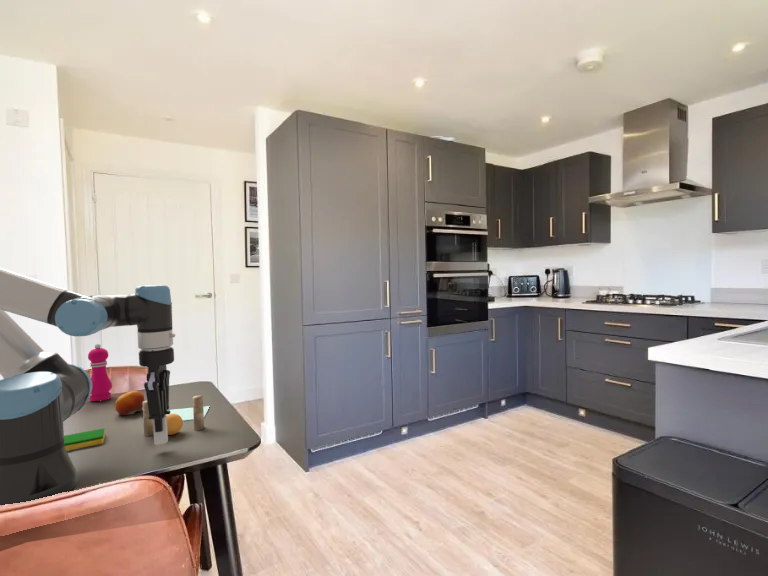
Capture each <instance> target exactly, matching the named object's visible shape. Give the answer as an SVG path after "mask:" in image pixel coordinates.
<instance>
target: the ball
mask: <svg viewBox="0 0 768 576" xmlns="http://www.w3.org/2000/svg"><path fill="white" fill-rule="evenodd" d="M183 425H184V421H183V420H182V418H181V417H180V416H179V415H177V414H169V415H167V432H168V435H169V436H172V435H175V434H177V433H178V432H179V431H181V430H182V428H183Z"/></svg>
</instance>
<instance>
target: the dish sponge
mask: <svg viewBox="0 0 768 576" xmlns="http://www.w3.org/2000/svg"><path fill="white" fill-rule="evenodd" d="M105 437H106V436H105V428H98V429H92V430H88V431H81V432H77V433H71V434H66V435H64V446H65V450H66V452H68V451H72V450H78V449H82V448H89V447H91V446H92V447H93V446H98V445H102V444H104V441H105Z"/></svg>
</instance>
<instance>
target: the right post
mask: <svg viewBox="0 0 768 576" xmlns="http://www.w3.org/2000/svg"><path fill="white" fill-rule="evenodd" d="M203 407H204V396H203V395H199V394H198V395H195V396H193V397H192V408H193V415H194V420H193V429H194V431H200V430H203V429H205V417H204V411H203Z"/></svg>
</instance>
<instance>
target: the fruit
mask: <svg viewBox="0 0 768 576" xmlns="http://www.w3.org/2000/svg"><path fill="white" fill-rule="evenodd" d="M144 401H145V396H144V394H143V393H142V392H141V391H138V390H131V391H127V392H125V393H123V394H121V395H119V397H118V398H117V399H116V400H115V404H114V408H115V409H114V410H115V412H116V413H118V414H119V415H120V416H128V415H134V414H135V413H136V412H139V411H142V412H143V402H144Z"/></svg>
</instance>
